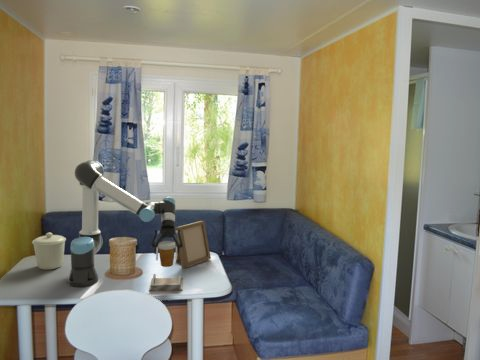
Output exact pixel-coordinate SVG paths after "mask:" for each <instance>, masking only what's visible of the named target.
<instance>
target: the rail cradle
mask: <svg viewBox="0 0 480 360" xmlns="http://www.w3.org/2000/svg"><path fill="white" fill-rule="evenodd" d="M156 275H157V274H156V273H153V275H152V278H151V281H150V285H149V288H148V292H149V291H154V292H181V291H183V283H184V282H183V280H184V277H182V273H181V272H180V273H178V277H160V278H159V277H158V278H156V277H157V276H156Z"/></svg>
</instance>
